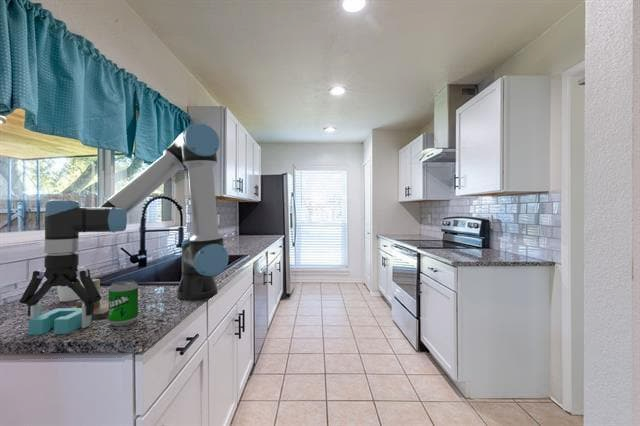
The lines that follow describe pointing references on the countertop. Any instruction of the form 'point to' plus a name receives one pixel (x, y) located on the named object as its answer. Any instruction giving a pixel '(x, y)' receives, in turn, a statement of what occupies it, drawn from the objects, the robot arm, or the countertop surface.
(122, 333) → the countertop surface
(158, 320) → the countertop surface
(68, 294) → the cup
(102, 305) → the post fixture
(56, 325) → the teal u-shaped block
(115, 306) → the soda can
